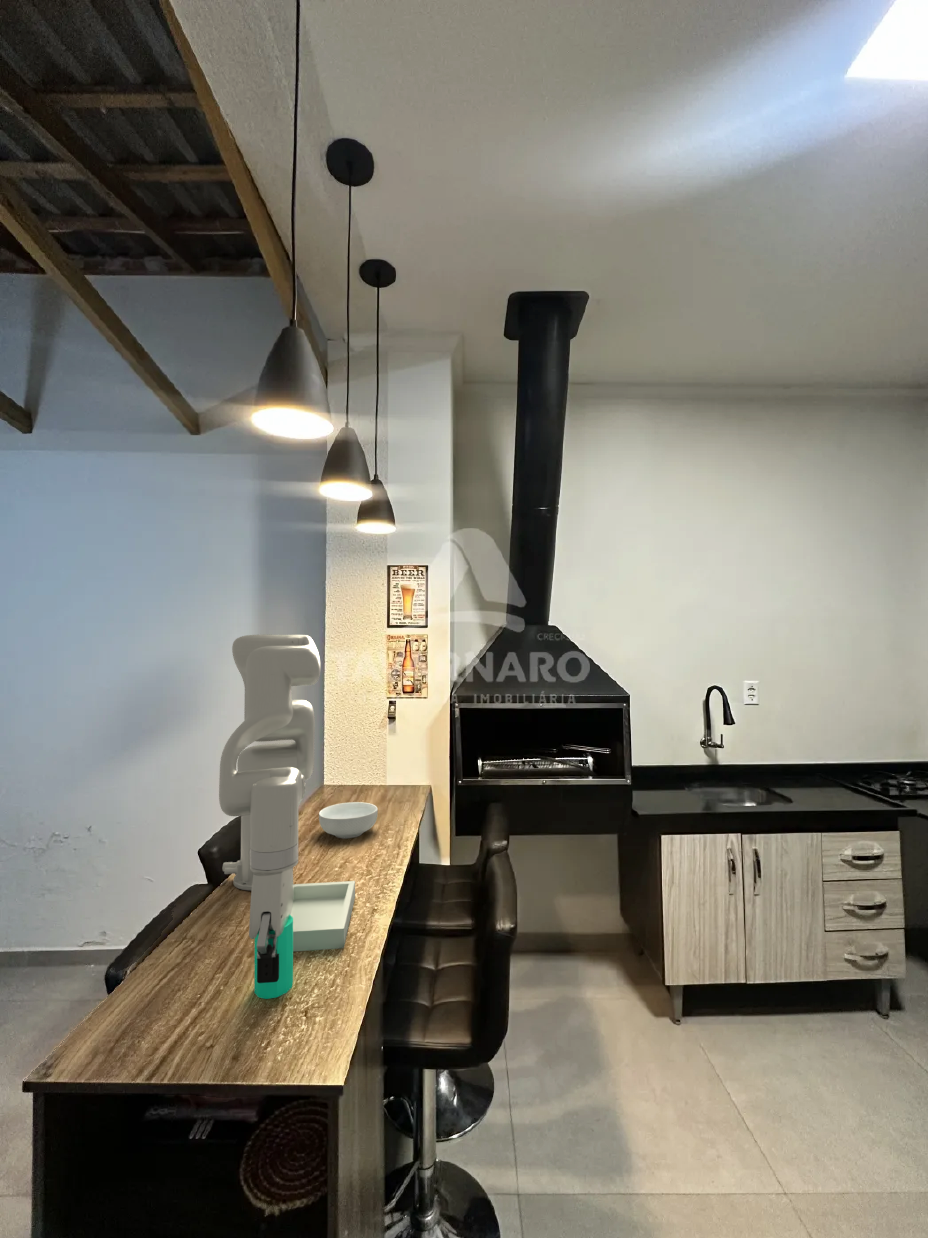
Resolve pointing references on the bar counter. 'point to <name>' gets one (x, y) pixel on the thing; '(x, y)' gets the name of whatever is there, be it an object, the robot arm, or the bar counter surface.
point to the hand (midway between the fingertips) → (274, 966)
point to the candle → (285, 965)
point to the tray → (321, 914)
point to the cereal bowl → (348, 819)
